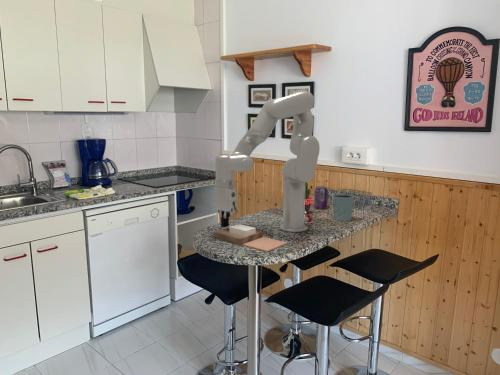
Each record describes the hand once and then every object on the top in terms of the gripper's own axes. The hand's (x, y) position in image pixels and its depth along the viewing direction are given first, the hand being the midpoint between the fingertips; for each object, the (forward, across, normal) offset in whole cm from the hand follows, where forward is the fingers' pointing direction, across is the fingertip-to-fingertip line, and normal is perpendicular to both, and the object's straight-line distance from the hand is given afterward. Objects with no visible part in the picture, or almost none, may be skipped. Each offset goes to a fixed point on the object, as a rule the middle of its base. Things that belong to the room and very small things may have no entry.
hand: (225, 226), depth 167 cm
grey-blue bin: (+4, -26, -57) cm, 63 cm away
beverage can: (+4, -5, -72) cm, 72 cm away
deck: (+4, -8, 0) cm, 8 cm away
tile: (+1, -10, 0) cm, 10 cm away
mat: (+4, -22, 0) cm, 22 cm away
